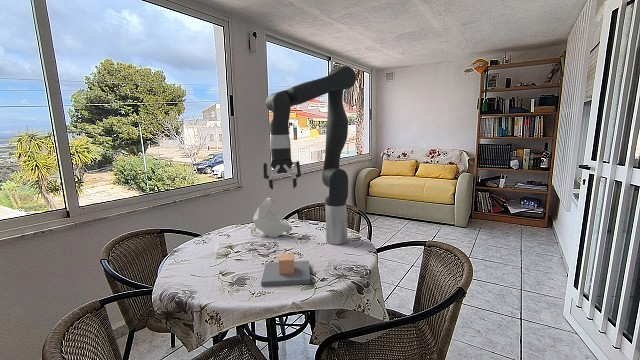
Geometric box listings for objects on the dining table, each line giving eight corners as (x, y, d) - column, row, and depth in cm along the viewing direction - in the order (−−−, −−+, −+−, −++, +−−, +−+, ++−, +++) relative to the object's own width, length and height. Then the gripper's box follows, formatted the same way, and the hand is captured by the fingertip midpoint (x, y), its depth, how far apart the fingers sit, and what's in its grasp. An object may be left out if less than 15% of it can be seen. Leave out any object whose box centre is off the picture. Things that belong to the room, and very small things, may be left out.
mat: (309, 264, 112) (308, 260, 112) (310, 283, 99) (310, 279, 98) (266, 266, 111) (266, 262, 111) (261, 286, 98) (261, 281, 97)
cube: (294, 266, 107) (293, 253, 106) (293, 273, 102) (293, 259, 102) (280, 267, 107) (279, 254, 106) (279, 274, 102) (278, 260, 101)
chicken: (253, 244, 144) (291, 234, 139) (239, 207, 142) (277, 196, 137) (260, 239, 151) (295, 229, 146) (246, 203, 149) (282, 192, 144)
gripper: (299, 145, 118) (301, 185, 121) (262, 147, 117) (265, 187, 120) (299, 146, 111) (301, 189, 113) (260, 148, 110) (263, 191, 112)
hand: (283, 188), depth 117 cm, fingers open, 8 cm apart
